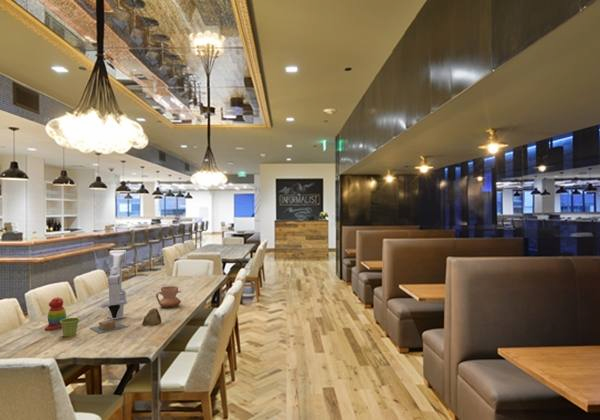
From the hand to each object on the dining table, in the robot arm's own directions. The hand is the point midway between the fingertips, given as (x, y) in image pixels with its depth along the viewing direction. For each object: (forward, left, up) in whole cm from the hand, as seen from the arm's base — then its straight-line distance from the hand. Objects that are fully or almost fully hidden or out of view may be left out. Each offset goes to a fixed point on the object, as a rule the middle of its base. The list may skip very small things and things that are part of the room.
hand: (114, 317), depth 224 cm
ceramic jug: (-18, +47, -6) cm, 51 cm away
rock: (+11, +18, -6) cm, 22 cm away
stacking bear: (-25, -23, -6) cm, 34 cm away
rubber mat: (0, -3, -5) cm, 6 cm away
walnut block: (0, -1, -3) cm, 3 cm away
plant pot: (-3, -23, -6) cm, 24 cm away
